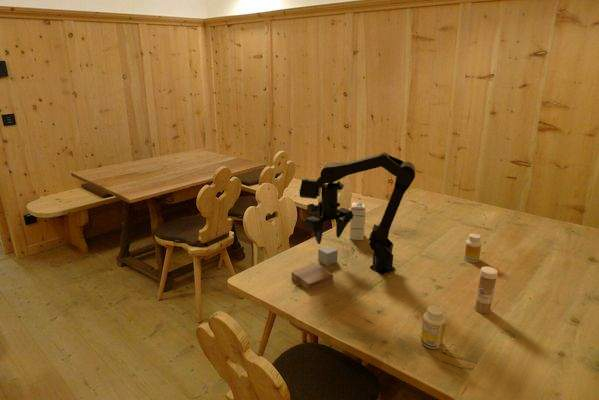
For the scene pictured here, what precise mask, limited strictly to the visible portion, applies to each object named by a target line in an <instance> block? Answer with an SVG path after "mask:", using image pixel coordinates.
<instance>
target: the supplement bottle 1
mask: <svg viewBox="0 0 599 400" xmlns="http://www.w3.org/2000/svg"><path fill="white" fill-rule="evenodd" d="M422 316H423V317H422V324H421V334H420V341H421V344H422V345H423V346H425V347H426V348H427V349H428V348H429V349H433V350H436V349H441V347H442V346H443V343H444V337H445V329H446V322H447V320H446V316H445V315H444V309H443V308H442V307H440V306H438V305H429V306H428V307H427V309H426V312H425V313H424V314H423V315H422Z"/></svg>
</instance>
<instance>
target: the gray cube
mask: <svg viewBox="0 0 599 400" xmlns="http://www.w3.org/2000/svg"><path fill="white" fill-rule="evenodd" d="M338 252H339V250H338V249H337V248H335V247H333V246H331V245H330V244H329V245H326V246H325V245H324V246H322V247H319V248H318V249H317V255H318V258H317V261H318V262H320V263H322V264H323V265H325V266H326V267H328V266H331V265H332V264H335V263H338V254H339V253H338Z"/></svg>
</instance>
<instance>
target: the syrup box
mask: <svg viewBox="0 0 599 400" xmlns="http://www.w3.org/2000/svg"><path fill="white" fill-rule="evenodd" d="M366 206H367V205H366V203H365V202H352V203H351V206H350V211H352V213H353V219H350V222H349V223H350V226H349V239H350V240H357V241H364V239H365V232H366V231H365V230H366V229H365V228H366V227H365V226H366Z"/></svg>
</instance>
